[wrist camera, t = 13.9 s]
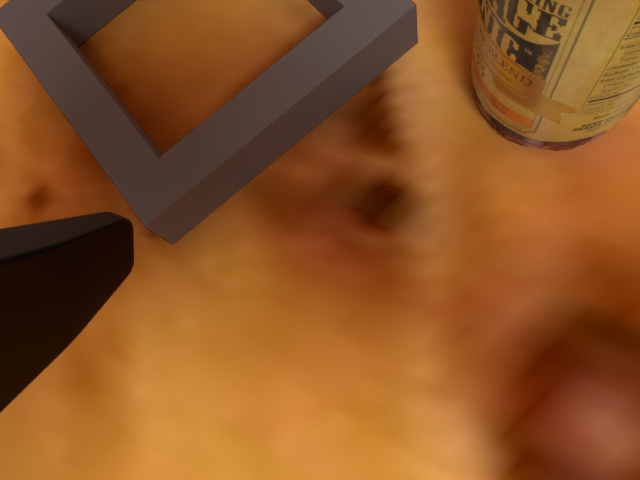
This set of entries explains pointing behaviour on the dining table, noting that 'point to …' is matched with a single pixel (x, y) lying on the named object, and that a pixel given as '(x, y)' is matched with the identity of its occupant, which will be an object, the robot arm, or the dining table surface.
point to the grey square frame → (224, 124)
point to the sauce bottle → (556, 68)
